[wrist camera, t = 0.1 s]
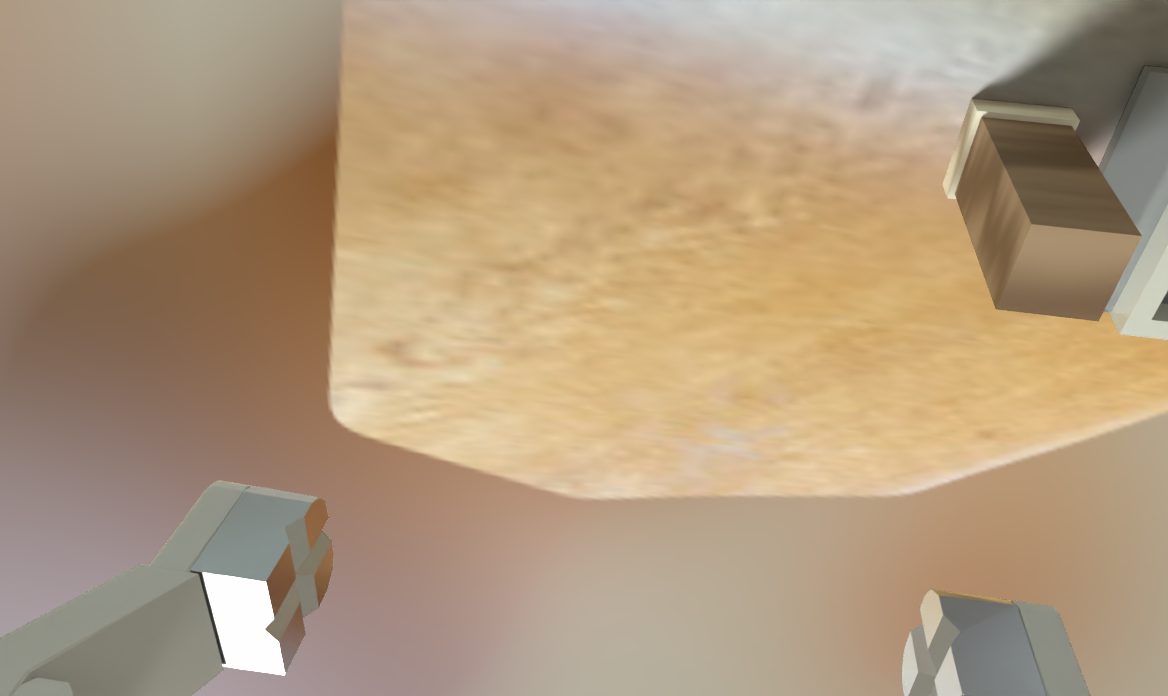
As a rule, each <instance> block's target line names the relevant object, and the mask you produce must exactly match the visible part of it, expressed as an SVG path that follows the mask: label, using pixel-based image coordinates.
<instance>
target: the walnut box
mask: <svg viewBox="0 0 1168 696" xmlns="http://www.w3.org/2000/svg"><path fill="white" fill-rule="evenodd" d="M1079 122H1080V120H1079V118H1078V117H1077V115H1076V114H1075V112H1074V111H1073V109H1072V108H1063V107H1053V106H1043V105H1033V104H1022V103H1012V102H1002V101H992V100H981V99H971V101H970V104H969V107H968V110H967V113H966V116H965V119H964V122H963V125H962V128H961V131H960V134H959V137H958V140H957V143H956V146H955V149H954V152H953V155H952V158H951V161H950V164H949V167H948V170H947V173H946V176H945V179H944V182H943V187H944V190H945V193H946V196H947V198H951V199H957V202H958V205H959V207H960V210H961V213H962V216H963V219H964V221H965V224H966V227H967V230H968V233H969V235H970V238H971V241H972V244H973V247H974V249H975V252H976V255H977V258H978V260H979V263H980V266H981V269H982V272H983V274H984V277H985V280H986V283H987V286H988V288H989V291H990V294H991V297H992V300H993V302H994V305H995V308H996V309H999V310H1007V311H1016V312H1024V313H1033V314H1041V315H1050V316H1058V317H1067V318H1076V319H1084V320H1093V321H1099V319H1100V317H1101V315H1102V313H1103V311H1104V310H1105V308H1106V306H1107V304H1108V302H1109V300H1110V298H1111V296H1112V294H1113V292H1114V290H1115V288H1116V286H1117V284H1118V282H1119V280H1120V278H1121V276H1122V275H1123V273H1124V271H1125V269H1126V267H1127V265H1128V263H1129V261H1130V259H1131V257H1132V255H1133V253H1134V251H1135V249H1136V247H1137V245H1138V243H1139V241H1140V240H1141V238H1142V235H1141V233H1140V232H1139V230H1138V229H1137V227H1136V226H1135V224H1134V223H1133V221H1132V219H1131V218H1130V216H1129V215H1128V213H1127V212H1126V210H1125V208H1124V207H1123V205H1122V204H1121V202H1120V201H1119V199H1118V198H1117V196H1116V194H1115V193H1114V191H1113V190H1112V188H1111V187H1110V185H1109V183H1108V182H1107V180H1106V179H1105V177H1104V176H1103V174H1102V173H1101V171H1100V169H1099V168H1098V166H1097V165H1096V163H1095V162H1094V160H1093V159H1092V157H1091V155H1090V154H1089V152H1088V151H1087V149H1086V148H1085V146H1084V144H1083V143H1082V141H1081V140H1080V138H1079V137H1078V135H1077V134H1076V129H1077V127H1078V125H1079Z"/></svg>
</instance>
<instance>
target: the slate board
mask: <svg viewBox="0 0 1168 696" xmlns="http://www.w3.org/2000/svg"><path fill="white" fill-rule="evenodd" d="M1099 169H1100V171H1101V173H1102V174H1103V176H1104V177H1105V179H1106V180H1107V182H1108V183H1109V185H1110V187H1111V188H1112V190H1113V191H1114V193H1115V194H1116V196H1117V198H1118V199H1119V201H1120V202H1121V204H1122V205H1123V207H1124V208H1125V210H1126V212H1127V213H1128V215H1129V216H1130V218H1131V219H1132V221H1133V223H1134V224H1135V226H1136V227H1137V229H1138V230H1139V232H1140V233H1141V235H1142V238H1141V240H1140V241H1139V243H1138V245H1137V247H1136V249H1135V251H1134V253H1133V255H1132V257H1131V259H1130V261H1129V263H1128V265H1127V267H1126V269H1125V271H1124V273H1123V275H1122V276H1121V278H1120V280H1119V282H1118V284H1117V286H1116V288H1115V290H1114V292H1113V294H1112V296H1111V298H1110V300H1109V302H1108V304H1107V306H1106V308H1105V310H1104V311H1103V312H1111V314H1110V316H1111V318H1112V320H1113V322H1114V324H1115V326H1116V328H1117V330H1118V332H1119V334H1123V335H1131V336H1140V337H1148V338H1157V339H1165V340H1168V68H1164V67H1153V66H1144V68H1143V70H1142V73H1141V75H1140V77H1139V79H1138V82H1137V84H1136V86H1135V88H1134V90H1133V93H1132V95H1131V97H1130V99H1129V101H1128V104H1127V106H1126V108H1125V110H1124V112H1123V115H1122V117H1121V119H1120V121H1119V123H1118V126H1117V128H1116V130H1115V132H1114V135H1113V137H1112V139H1111V141H1110V143H1109V146H1108V148H1107V150H1106V152H1105V154H1104V157H1103V159H1102V161H1101V163H1100V165H1099Z"/></svg>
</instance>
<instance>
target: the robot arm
mask: <svg viewBox="0 0 1168 696" xmlns="http://www.w3.org/2000/svg"><path fill="white" fill-rule="evenodd" d="M328 518H329V517H328V512H327V507H326V501H325V500H324V499H322V498H319V497H314V496H309V495H303V494H297V493H292V492H286V491H281V490H275V489H269V488H264V487H258V486H248V485H243V484H237V483H232V482H226V481H220V480H218V481H216V482H215V483H213V484H211V485H210V486H208V487H207V488H206V490H205V491H204V493H203V494H202V495H201V497H200V498H199V499H198V501H197V502H196V504H195V505H194V506H193V507H192V509H191V510H190V511H189V513H188V514H187V516H186V517H185V518H184V519H183V521H182V522H181V523H180V525H179V526H178V528H177V529H176V530H175V532H174V533H173V534H172V536H171V537H170V539H169V540H168V541H167V542H166V544H165V545H164V546H163V548H162V549H161V550H160V552H159V553H158V554H157V556H156V557H155V559H154V560H153V561H152V563H151V564H150V565H142V564H138V565H137V566H134V567H133V568H131V569H129V570H127V571H125V572H123V573H121V574H120V575H118V576H116V577H114V578H112V579H110V580H108V581H106V582H104V583H102V584H101V585H99V586H97V587H95V588H93V589H91V590H89V591H87V592H85V593H84V594H82V595H80V596H78V597H76V598H74V599H72V600H71V601H69V602H67V603H65V604H63V605H61V606H59V607H57V608H55V609H53V610H52V611H50V612H48V613H46V614H44V615H42V616H40V617H38V618H36V619H35V620H33V621H31V622H29V623H27V624H25V625H23V626H21V627H20V628H18V629H16V630H14V631H12V632H10V633H8V634H6V635H5V636H3V637H1V638H0V696H192V695H193V694H194V693H195V692H196V691H198V690H199V689H200V688H202V687H203V686H204V685H206V684H207V683H208V682H209V681H211V680H212V679H213V678H214V677H216V676H217V675H218V674H220V673H221V672H222V671H223V670H224V667H223V666H225V667H232V668H239V669H247V670H254V671H261V672H268V673H275V674H282V675H285V674H286V672H287V670H288V668H289V666H290V664H291V662H292V660H293V658H294V656H295V654H296V652H297V650H298V648H299V646H300V644H301V642H302V640H303V638H304V636H305V627H304V622H303V618H304V617H305V616H307V615H308V614H310V613H312V612H313V611H315V610H316V609H318V608H319V606H320V604H321V602H322V600H323V598H324V596H325V594H326V592H327V589H328V585H329V581H330V578H331V573H332V570H333V555H334V554H333V546H332V541H331V539H329V537H328V536H327V535H326V534H325V533H324V532H323V531H322V529H323V527H324V526H325V524H326V522H327V520H328ZM920 612H921V617H922V622H923V624H922V625H920V626H918V627H917V628H915V629H913V630H911V631H910V634H909V637H908V640H907V643H906V645H905V648H904V656H903V663H902V682H903V683H902V685H903V691H904V696H1091V695H1090V693H1089V690H1088V687H1087V685H1086V682H1085V680H1084V677H1083V675H1082V672H1081V669H1080V667H1079V664H1078V661H1077V659H1076V656H1075V654H1074V651H1073V648H1072V646H1071V643H1070V641H1069V638H1068V635H1067V632H1066V630H1065V627H1064V625H1063V622H1062V619H1061V617H1060V614H1059V613H1058V611H1057V610H1055V608H1054V607H1053V606H1048V605H1041V604H1034V603H1027V602H1020V601H1009V600H1007V599H1000V598H993V597H985V596H978V595H971V594H964V593H957V592H950V591H942V590H935V589H931V590H930V591H929V592H928V593H927V594H926V595H925V597H924V599H923V602H922V604H921V606H920Z"/></svg>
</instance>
